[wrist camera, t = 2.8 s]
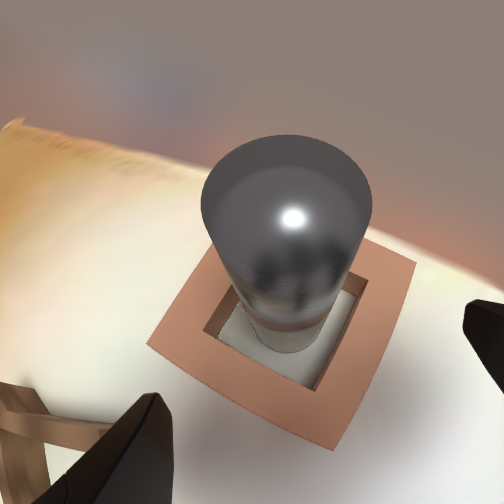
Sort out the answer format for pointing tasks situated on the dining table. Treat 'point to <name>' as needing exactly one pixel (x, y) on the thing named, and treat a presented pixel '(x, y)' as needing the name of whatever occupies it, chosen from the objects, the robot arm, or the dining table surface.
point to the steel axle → (286, 231)
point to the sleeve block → (269, 382)
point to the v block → (34, 442)
